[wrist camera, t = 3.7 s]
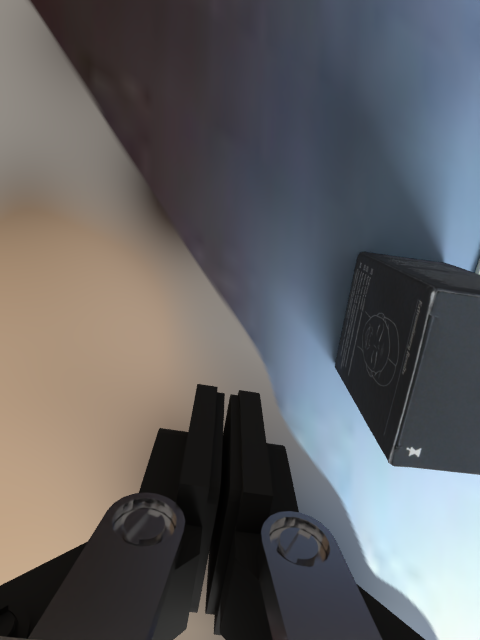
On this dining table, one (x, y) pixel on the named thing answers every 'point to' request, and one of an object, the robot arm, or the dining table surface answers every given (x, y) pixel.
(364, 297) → the box
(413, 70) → the dining table surface
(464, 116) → the dining table surface
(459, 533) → the dining table surface
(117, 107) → the dining table surface
